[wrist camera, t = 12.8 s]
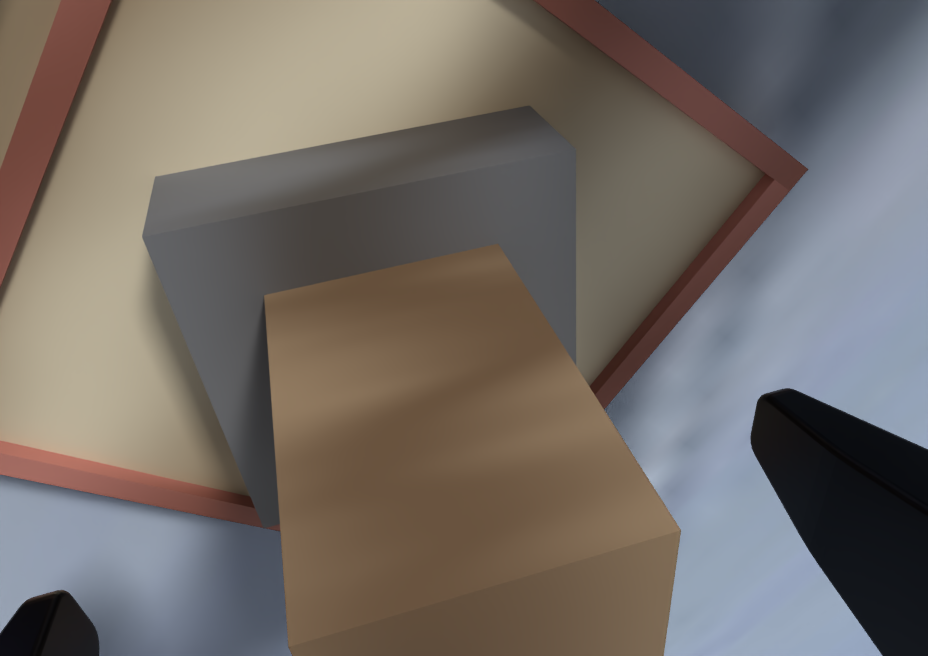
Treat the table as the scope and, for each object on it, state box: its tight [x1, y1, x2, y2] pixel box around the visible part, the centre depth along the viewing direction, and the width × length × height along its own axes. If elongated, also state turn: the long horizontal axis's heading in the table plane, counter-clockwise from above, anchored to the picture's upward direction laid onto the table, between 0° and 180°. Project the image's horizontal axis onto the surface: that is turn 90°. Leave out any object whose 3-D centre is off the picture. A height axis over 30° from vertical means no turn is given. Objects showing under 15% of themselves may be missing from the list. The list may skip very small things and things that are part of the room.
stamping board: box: [0, 0, 808, 531], centre depth 10 cm, size 24×12×2 cm, turn 57°
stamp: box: [142, 105, 681, 656], centre depth 10 cm, size 6×6×8 cm
